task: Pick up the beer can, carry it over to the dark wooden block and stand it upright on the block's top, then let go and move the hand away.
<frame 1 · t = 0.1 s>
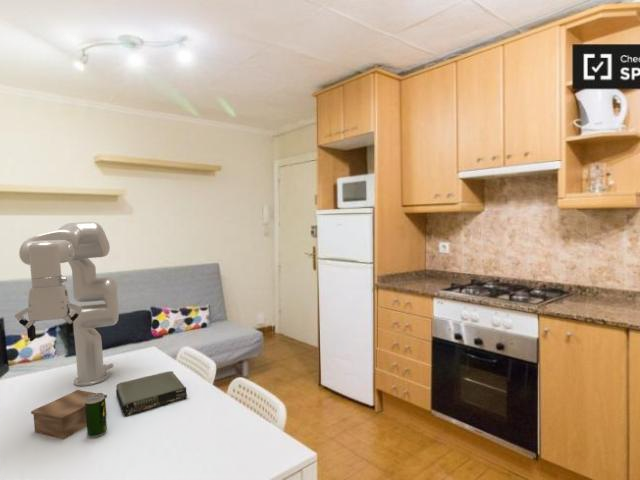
hand: (51, 337, 122), 31 cm above the table, fingers open, 9 cm apart
network switch: (150, 398, 148), on the table
beer can: (97, 434, 124), on the table
wooden block: (72, 423, 131), on the table
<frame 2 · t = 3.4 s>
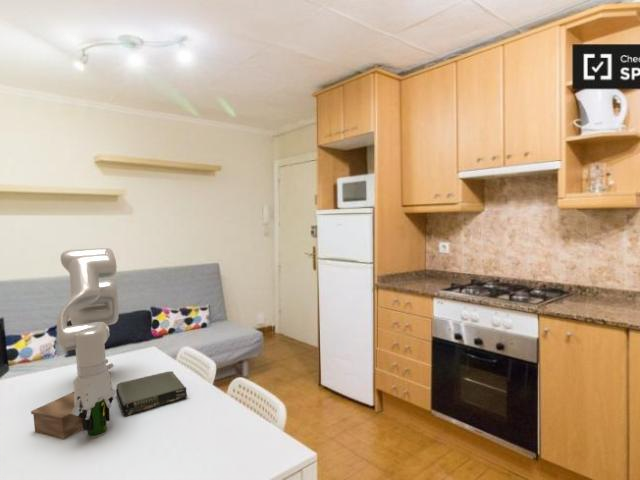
hand: (96, 424, 124), 3 cm above the table, fingers closed on beer can, 5 cm apart
beer can: (97, 434, 124), on the table, touching gripper
everything else where it was.
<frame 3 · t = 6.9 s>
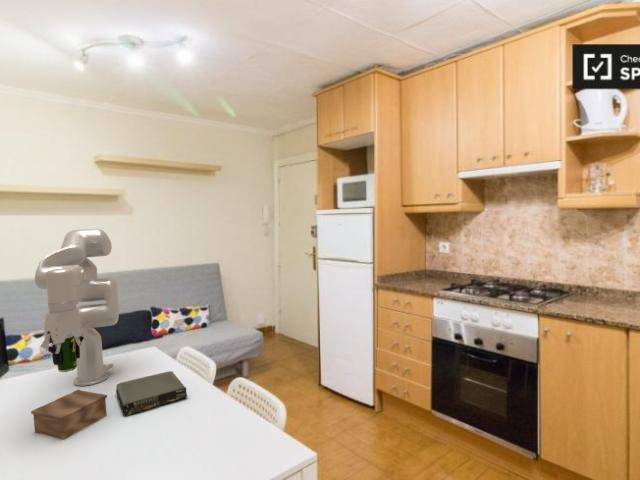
hand: (67, 360, 130), 21 cm above the table, fingers closed on beer can, 5 cm apart
beer can: (67, 369, 130), point 18 cm above the table, touching gripper
everything else where it was.
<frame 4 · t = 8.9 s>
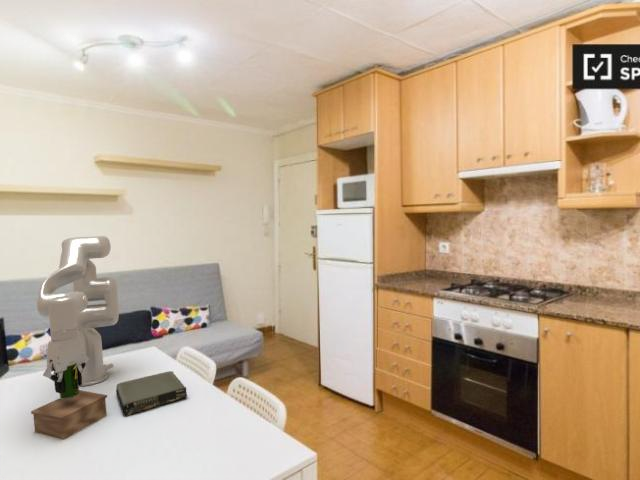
hand: (69, 388, 130), 12 cm above the table, fingers closed on beer can, 5 cm apart
beer can: (69, 397, 130), point 9 cm above the table, touching gripper
everything else where it was.
when the fingers open (11 cm above the table, at t = 10.5 s): beer can stays where it is, resting on wooden block.
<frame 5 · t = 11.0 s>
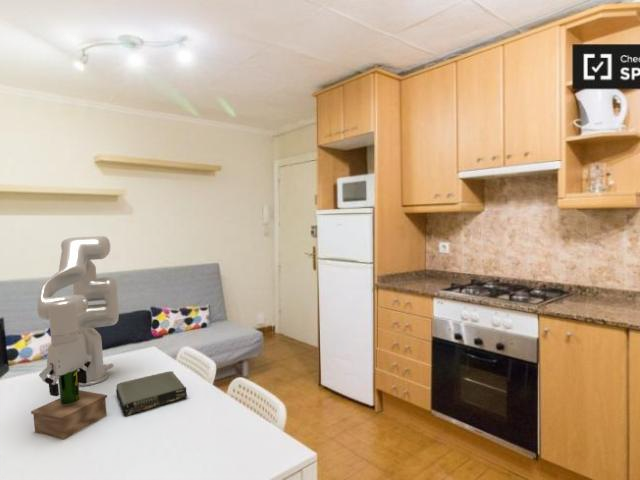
hand: (69, 388, 130), 12 cm above the table, fingers open, 9 cm apart
beer can: (70, 403, 131), point 7 cm above the table, touching wooden block
everything else where it was.
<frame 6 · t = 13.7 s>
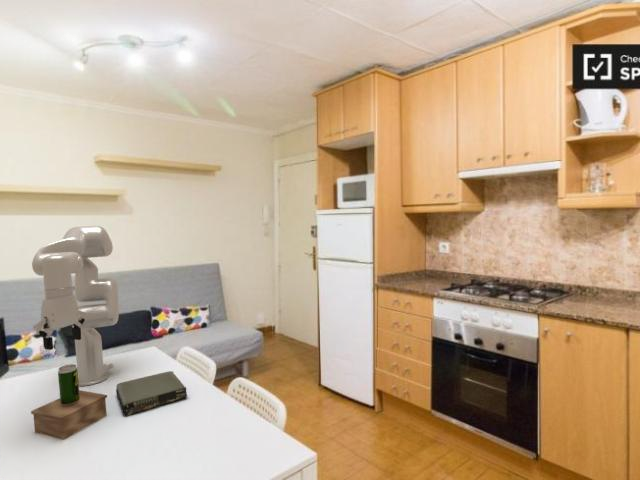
hand: (63, 344, 130), 26 cm above the table, fingers open, 9 cm apart
nothing on the table moved.
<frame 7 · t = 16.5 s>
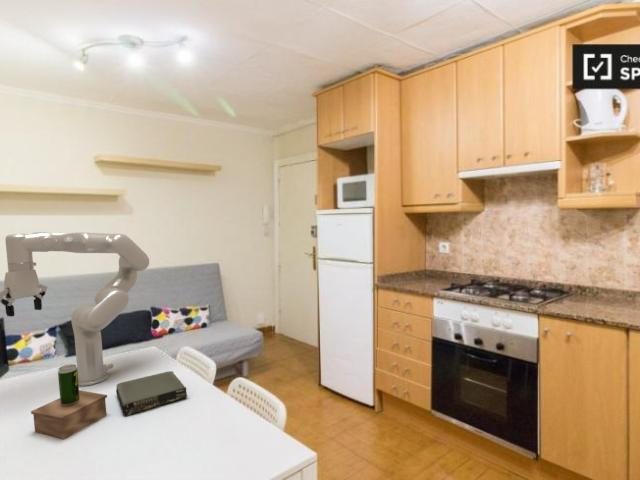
hand: (24, 312, 148), 33 cm above the table, fingers open, 9 cm apart
nothing on the table moved.
at the end: beer can inside the target area on the wooden block (0.1 cm from its centre), point 6.8 cm above the wooden block's base; beer can tilted 0°; the gripper is holding nothing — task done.
